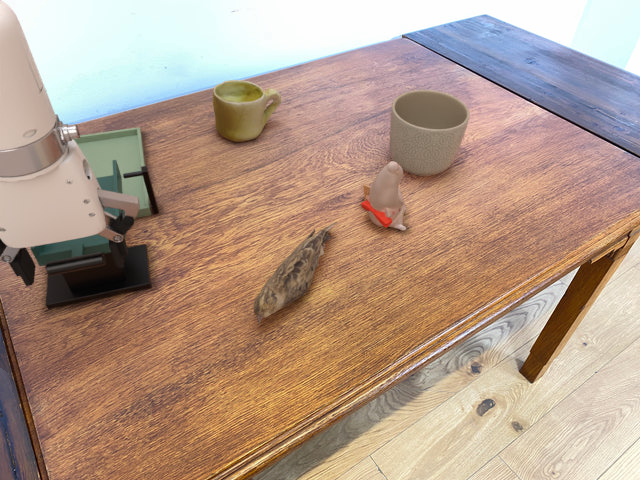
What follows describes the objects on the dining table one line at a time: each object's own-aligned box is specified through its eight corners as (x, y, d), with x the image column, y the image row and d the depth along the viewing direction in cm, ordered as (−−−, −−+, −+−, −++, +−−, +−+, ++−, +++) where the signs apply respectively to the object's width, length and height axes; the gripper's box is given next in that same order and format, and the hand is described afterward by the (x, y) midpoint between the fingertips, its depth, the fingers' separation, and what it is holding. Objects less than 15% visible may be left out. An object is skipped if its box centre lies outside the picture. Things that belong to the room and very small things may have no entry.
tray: (151, 215, 79) (149, 207, 78) (45, 234, 75) (41, 226, 74) (141, 134, 94) (139, 126, 93) (53, 147, 91) (50, 139, 89)
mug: (209, 143, 89) (213, 84, 85) (209, 127, 98) (214, 74, 94) (278, 151, 92) (286, 94, 88) (273, 135, 101) (279, 84, 97)
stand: (168, 284, 69) (156, 242, 63) (29, 313, 65) (2, 271, 60) (158, 207, 80) (146, 165, 74) (38, 228, 76) (16, 186, 70)
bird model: (285, 332, 60) (254, 304, 60) (263, 343, 65) (234, 317, 64) (360, 224, 73) (335, 200, 73) (338, 239, 78) (314, 217, 77)
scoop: (128, 274, 61) (120, 254, 58) (37, 293, 58) (25, 273, 56) (121, 176, 73) (115, 156, 71) (46, 188, 71) (37, 168, 69)
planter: (387, 185, 85) (395, 129, 78) (381, 142, 94) (389, 88, 86) (461, 187, 85) (477, 131, 78) (449, 144, 94) (462, 90, 86)
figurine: (420, 220, 79) (429, 165, 70) (390, 245, 77) (396, 191, 67) (377, 189, 84) (380, 134, 74) (348, 212, 81) (347, 158, 71)
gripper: (116, 109, 51) (151, 231, 63) (-80, 134, 47) (-2, 259, 59) (119, 153, 46) (156, 276, 58) (-100, 185, 42) (-11, 309, 54)
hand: (76, 267), depth 59 cm, fingers open, 9 cm apart
